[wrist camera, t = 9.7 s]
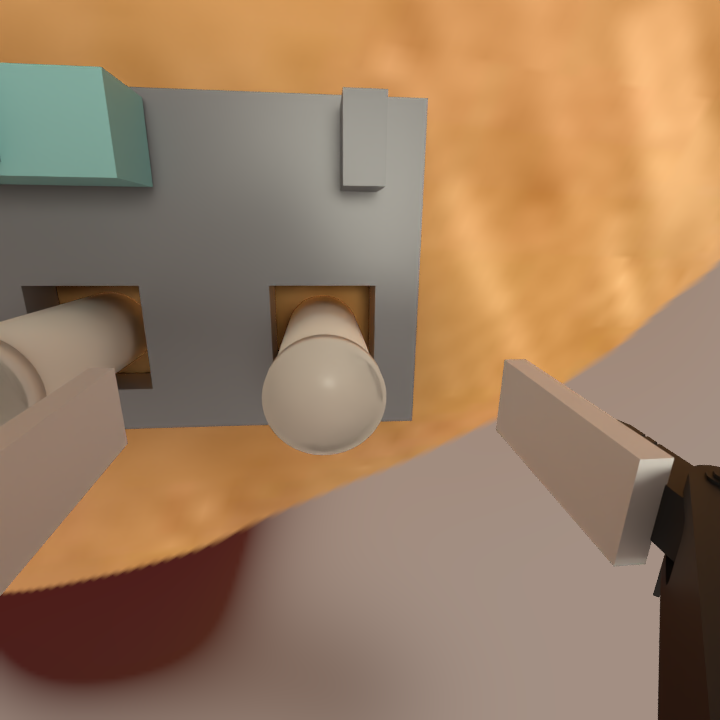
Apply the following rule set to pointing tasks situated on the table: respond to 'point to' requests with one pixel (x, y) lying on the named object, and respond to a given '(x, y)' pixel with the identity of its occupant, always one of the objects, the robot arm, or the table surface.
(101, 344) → the white cylinder
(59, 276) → the housing
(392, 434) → the table surface
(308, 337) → the cream peg
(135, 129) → the lid
